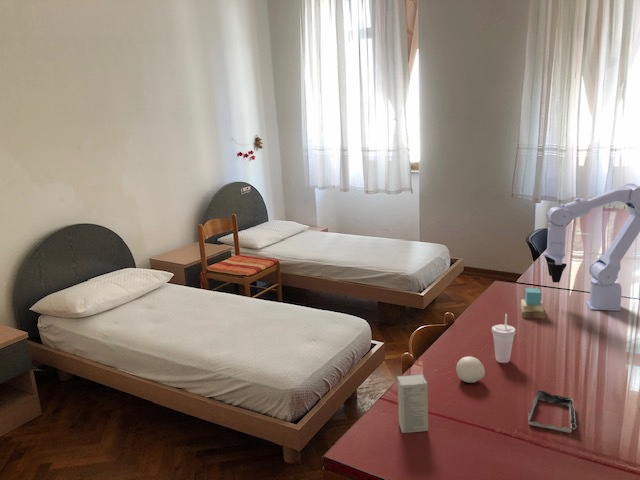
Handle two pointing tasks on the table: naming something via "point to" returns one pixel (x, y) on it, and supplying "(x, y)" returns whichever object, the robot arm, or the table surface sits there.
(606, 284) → the robot arm
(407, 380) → the skincare box
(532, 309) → the maple top block
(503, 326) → the smoothie
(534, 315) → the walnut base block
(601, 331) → the table surface
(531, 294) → the teal block
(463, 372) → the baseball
